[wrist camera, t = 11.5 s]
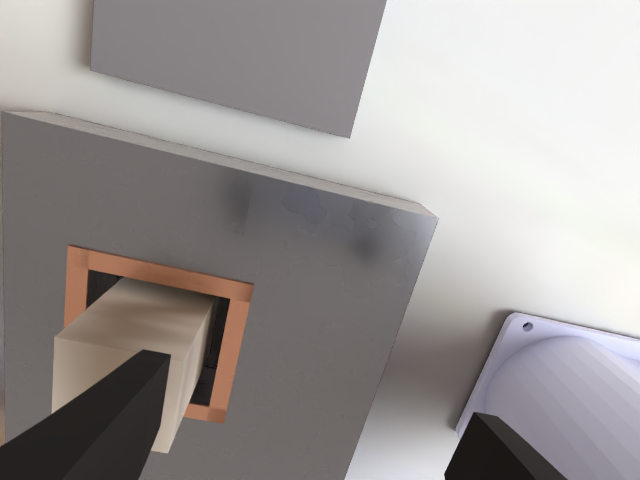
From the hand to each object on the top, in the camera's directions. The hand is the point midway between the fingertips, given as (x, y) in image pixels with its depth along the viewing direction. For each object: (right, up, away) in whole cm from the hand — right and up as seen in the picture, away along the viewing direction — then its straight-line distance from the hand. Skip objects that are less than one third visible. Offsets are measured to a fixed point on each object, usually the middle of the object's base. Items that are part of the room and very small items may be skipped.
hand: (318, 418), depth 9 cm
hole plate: (-5, 0, +10) cm, 11 cm away
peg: (-7, +1, +9) cm, 12 cm away
